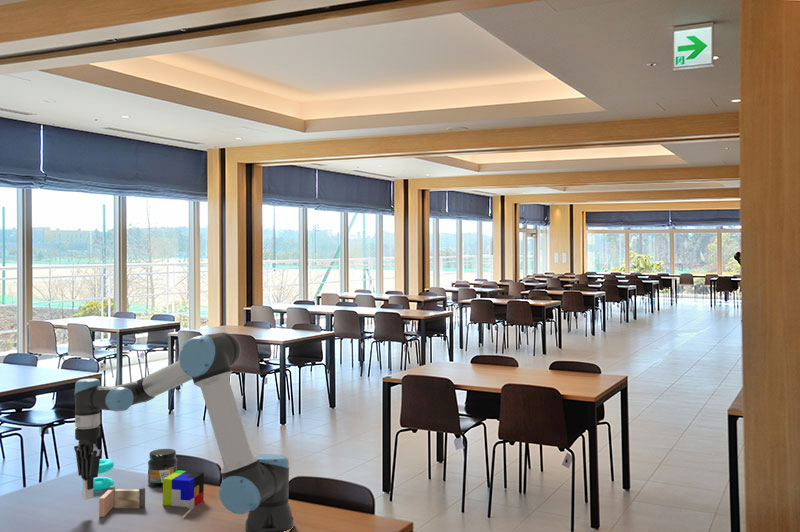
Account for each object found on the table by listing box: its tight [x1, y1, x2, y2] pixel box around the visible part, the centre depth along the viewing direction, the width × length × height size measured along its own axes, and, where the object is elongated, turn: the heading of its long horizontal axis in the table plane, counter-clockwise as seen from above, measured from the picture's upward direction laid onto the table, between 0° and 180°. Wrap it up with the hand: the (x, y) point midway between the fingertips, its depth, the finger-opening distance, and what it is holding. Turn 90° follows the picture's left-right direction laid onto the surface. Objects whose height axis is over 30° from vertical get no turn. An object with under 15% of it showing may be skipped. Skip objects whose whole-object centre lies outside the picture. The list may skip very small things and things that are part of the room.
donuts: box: [93, 458, 115, 491], centre depth 255 cm, size 10×10×10 cm
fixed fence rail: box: [114, 487, 146, 509], centre depth 233 cm, size 10×2×7 cm, turn 89°
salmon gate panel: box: [98, 485, 116, 518], centre depth 229 cm, size 11×2×7 cm, turn 4°
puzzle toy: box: [162, 469, 205, 511], centre depth 240 cm, size 10×10×10 cm
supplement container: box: [147, 448, 178, 488], centre depth 262 cm, size 10×10×12 cm
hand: (88, 498), depth 225 cm, fingers closed
